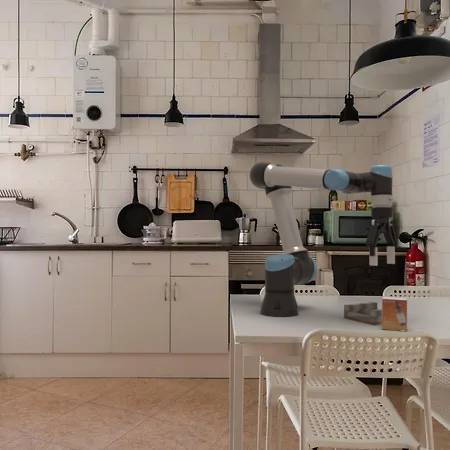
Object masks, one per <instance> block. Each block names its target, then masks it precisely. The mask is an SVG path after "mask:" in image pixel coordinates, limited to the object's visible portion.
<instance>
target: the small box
mask: <svg viewBox="0 0 450 450" xmlns="http://www.w3.org/2000/svg"><path fill="white" fill-rule="evenodd" d="M381 303H382V304H381V309H382V324H381V330H389V331H396V330H407V331H408V299H407V297H391V296H389V297H388V296H382V299H381Z"/></svg>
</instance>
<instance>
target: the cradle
mask: <svg viewBox="0 0 450 450" xmlns="http://www.w3.org/2000/svg"><path fill="white" fill-rule="evenodd" d="M343 318H344V319H347V320H350V321H351V320H352V321H354V322H355V321H356V322H359V323H363V324H368V325H372V326H379V325H382V308H378V302H377V301H376V302H375V301H370V302H369V301H368V302H359V303H350V304H344V305H343Z"/></svg>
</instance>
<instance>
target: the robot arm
mask: <svg viewBox="0 0 450 450" xmlns="http://www.w3.org/2000/svg"><path fill="white" fill-rule="evenodd" d="M249 180H250V182H251V184H252V185H253V186H254V187H256V188H258V189H263V190H264V192H265V196H266V198H268V200H270V203H271V205H272V210H273V214H274V218H275V221H276V223H275V224H276V225H277V232H278V234H279V238H280V243H281V247H282V251H283V252H282V253H280V254H272V255H270V256H267V257H266V258H265V263H264V264H265V265H264V292H265V293H264V296H263V299H262V303H261V306H260V314H261V315H264V316H269V317H270V316H271V317H294V316H298V315H299V311H300V308H299V307H298V302H297V299H296V296H295V286H297V285H305V284H308V283H310V282H312V281H313V280H314V279H315V277H316V276H317V272H318V266H317V262H316V261H315V259H313V258H312V257H311V256H310V254H309V250H308V249H307V248H305V247H304V245H303V242H302V238H301V237H302V236H301V233H300V230H299V227H298V222H297V217H296V214H295V213H296V212H295V209H294V206H293V203H292V199H291V194H292V191H293V188H292V187H294V188H295V187H296V188H305V189H307V188H308V189H318V190H319V189H320V190H329V191H339V192H341V193H342V194H345V195H346V194H348V195H349V194H351V195H353V194H360V193H370V206H371V207H372V208H370V211H371V213H370V217H371V218H372V219H369V228H368V232H367V236H366V241H365V246H366V247H367V248H368V249H369V250H368V251H369V254H368V255H369V266H376V267H377V266H378V261H379V259H378V256H379V255H378V247H377V244H378V242H379V240H380V237H381V234H383V237H384V239H385V241H386V244H387V245H388V246H386V264H388V265H389V264H391V265H395V264H396V255H395V254H396V252H395V251H396V250H395V247H398V245H399V244H398V239H397V234H396V230H395V227H394V220H391V219H390V218H393V217H394V216H393V215H394V212H393V210H394V208H393V207H392V206H393V200H394V197H393V170H392V166H390V165H388V164H377V165H372V166H370V170H369V171H367V172H358V173H357V172H351V171H346V170H344V169H340V168H332V169H328V168H311V167H308V168H307V167H294V166H293V167H291V166H289V167H288V166H286V165H283V164H279V163H272V162H267V161H259V162H257V163H255V164H253V166H252V167H251V168H250V171H249Z"/></svg>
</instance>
